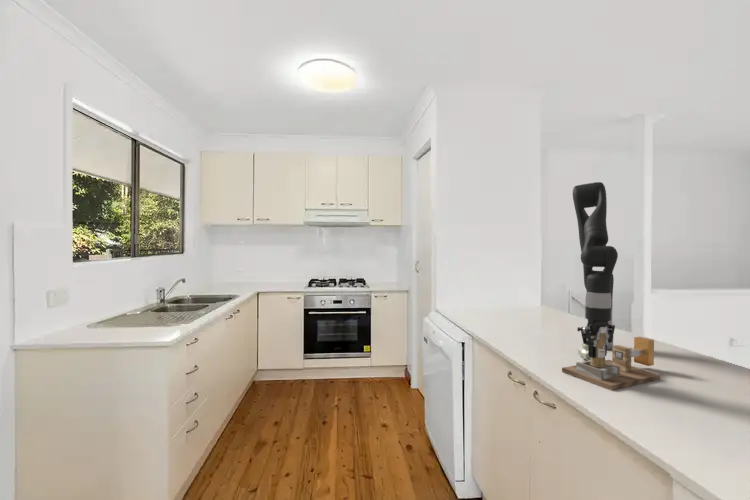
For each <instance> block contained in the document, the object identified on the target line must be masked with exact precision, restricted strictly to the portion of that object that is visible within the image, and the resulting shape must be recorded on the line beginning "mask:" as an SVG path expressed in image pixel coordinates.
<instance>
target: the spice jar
mask: <svg viewBox="0 0 750 500" xmlns="http://www.w3.org/2000/svg"><path fill="white" fill-rule="evenodd" d="M605 334H606V328H605V327H602V328H601V332H600V337H599V340H597V344H596V358H592V357H591V363H590V365H591V366H593V367H597V368H604V367H605V360H606V356H605ZM591 336H592V337H595V336H594V335H591ZM592 342H593V339H592Z"/></svg>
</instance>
